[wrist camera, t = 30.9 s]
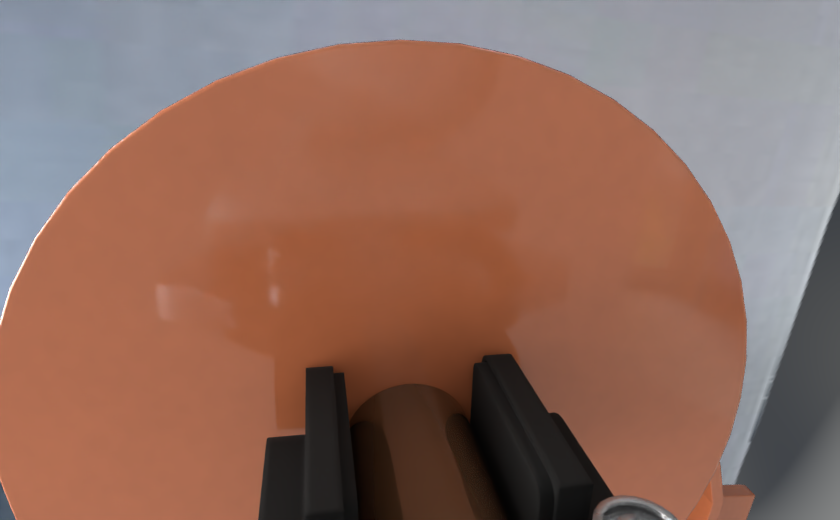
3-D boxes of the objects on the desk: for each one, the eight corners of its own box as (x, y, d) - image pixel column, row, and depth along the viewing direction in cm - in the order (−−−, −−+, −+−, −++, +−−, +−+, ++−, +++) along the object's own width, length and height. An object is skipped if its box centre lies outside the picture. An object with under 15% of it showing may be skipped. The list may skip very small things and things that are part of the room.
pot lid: (-29, -23, 9) (-441, -92, 4) (802, 90, 13) (1148, 129, 7) (48, 675, 14) (-96, 1031, 9) (628, 631, 18) (760, 879, 12)
